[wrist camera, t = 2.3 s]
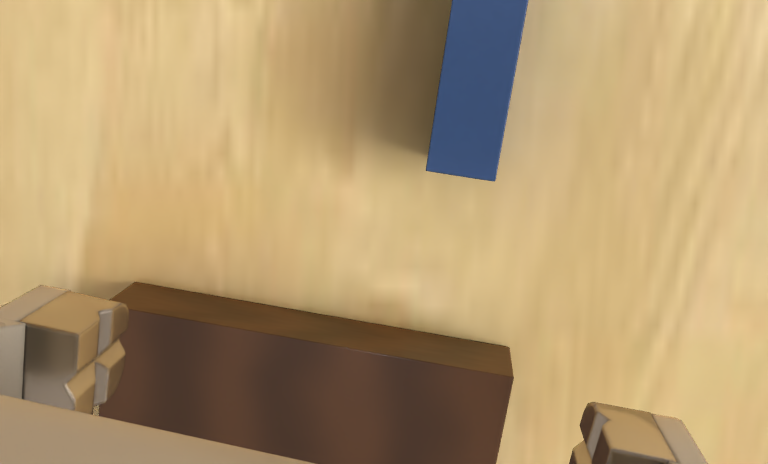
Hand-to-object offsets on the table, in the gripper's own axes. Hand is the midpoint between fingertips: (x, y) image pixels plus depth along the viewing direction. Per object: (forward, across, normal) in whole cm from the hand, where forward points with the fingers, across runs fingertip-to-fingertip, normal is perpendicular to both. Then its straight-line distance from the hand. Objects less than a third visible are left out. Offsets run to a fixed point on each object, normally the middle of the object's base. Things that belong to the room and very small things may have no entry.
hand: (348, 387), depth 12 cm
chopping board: (+23, +3, +16) cm, 28 cm away
